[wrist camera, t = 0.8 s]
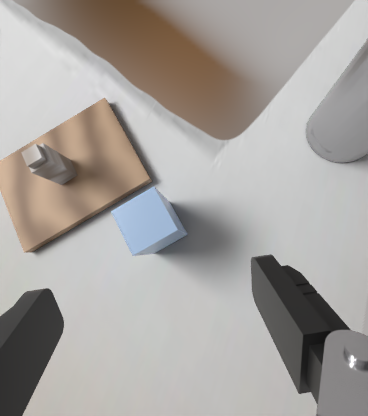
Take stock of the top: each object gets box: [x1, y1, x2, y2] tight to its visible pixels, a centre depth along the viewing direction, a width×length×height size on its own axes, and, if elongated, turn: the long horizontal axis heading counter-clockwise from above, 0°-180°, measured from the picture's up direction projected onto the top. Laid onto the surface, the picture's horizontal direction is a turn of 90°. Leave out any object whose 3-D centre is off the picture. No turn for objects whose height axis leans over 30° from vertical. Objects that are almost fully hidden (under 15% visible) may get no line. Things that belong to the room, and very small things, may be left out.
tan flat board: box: [0, 98, 152, 252], centre depth 34 cm, size 22×16×8 cm
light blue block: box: [111, 186, 188, 256], centre depth 30 cm, size 6×6×9 cm
